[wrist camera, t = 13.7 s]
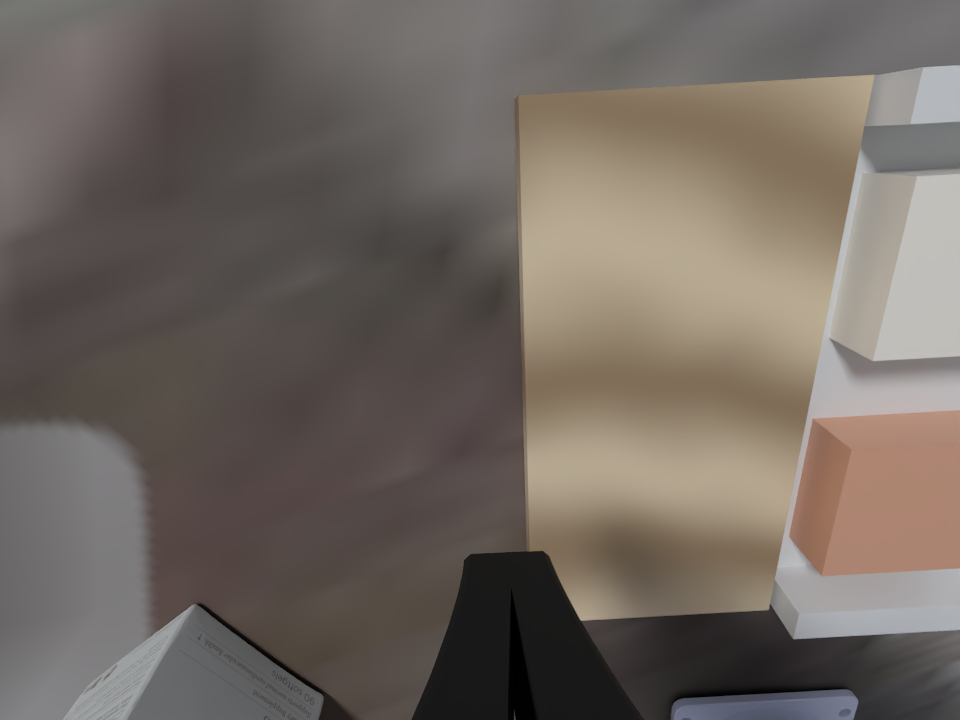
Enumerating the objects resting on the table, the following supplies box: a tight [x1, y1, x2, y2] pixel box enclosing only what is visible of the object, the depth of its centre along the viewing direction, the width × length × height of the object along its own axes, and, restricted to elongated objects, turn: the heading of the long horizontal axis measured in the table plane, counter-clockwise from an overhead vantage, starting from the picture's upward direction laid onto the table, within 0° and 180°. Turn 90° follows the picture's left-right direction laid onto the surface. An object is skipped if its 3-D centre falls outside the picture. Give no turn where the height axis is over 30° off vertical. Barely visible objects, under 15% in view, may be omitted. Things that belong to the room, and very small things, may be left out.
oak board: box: [515, 75, 874, 621], centre depth 17 cm, size 18×9×1 cm, turn 3°
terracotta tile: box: [789, 410, 960, 576], centre depth 18 cm, size 5×5×2 cm
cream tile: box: [829, 167, 960, 361], centre depth 15 cm, size 5×5×2 cm
